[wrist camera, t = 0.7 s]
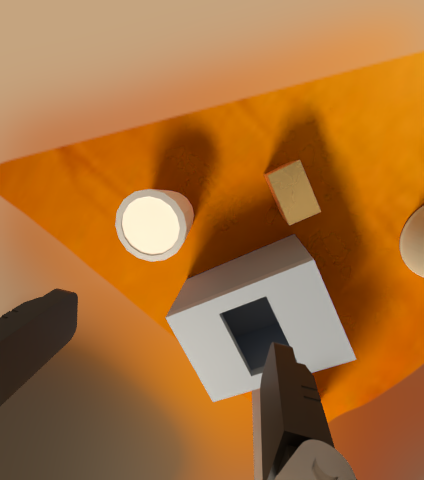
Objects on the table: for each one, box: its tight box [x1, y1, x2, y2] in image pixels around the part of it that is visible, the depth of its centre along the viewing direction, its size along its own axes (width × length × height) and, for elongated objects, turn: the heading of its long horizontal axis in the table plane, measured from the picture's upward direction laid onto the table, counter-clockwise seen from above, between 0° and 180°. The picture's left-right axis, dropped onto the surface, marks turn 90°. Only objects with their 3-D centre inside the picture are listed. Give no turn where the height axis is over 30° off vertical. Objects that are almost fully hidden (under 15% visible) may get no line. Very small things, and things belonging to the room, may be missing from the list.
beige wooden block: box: [263, 160, 321, 225], centre depth 26 cm, size 3×5×6 cm, turn 26°
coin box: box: [166, 234, 356, 402], centre depth 28 cm, size 14×10×9 cm
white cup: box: [115, 189, 194, 262], centre depth 28 cm, size 7×7×7 cm
